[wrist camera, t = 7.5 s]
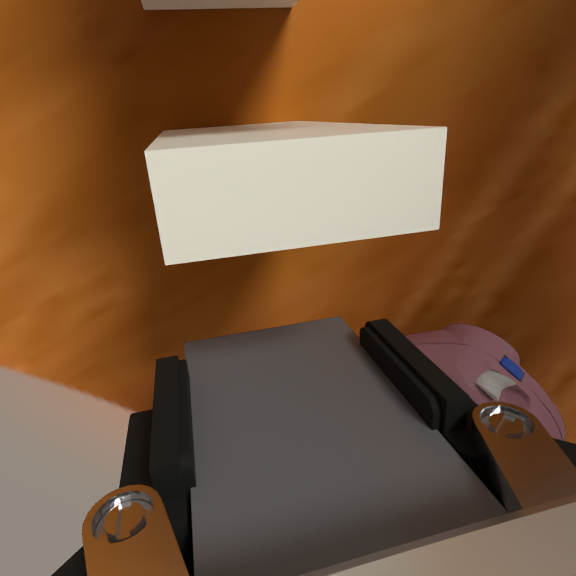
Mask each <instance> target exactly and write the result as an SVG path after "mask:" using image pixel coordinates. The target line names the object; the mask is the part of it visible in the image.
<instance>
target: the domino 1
mask: <svg viewBox="0 0 576 576" xmlns="http://www.w3.org/2000/svg"><path fill="white" fill-rule="evenodd" d="M446 137H447V127H439V126H413V125H387V124H362V123H336V122H311V121H291V122H277V123H263V124H249V125H235V126H221V127H207V128H193V129H179V130H165V131H163V132H162V133H161V134H160V135H159V136H158V137H157V138H156V139H155V140H154V141H153V142H152V143H151V144H150V145H149V146H148V148H147V149H146V150H145V151H144V153H145V158H146V164H147V169H148V175H149V180H150V186H151V191H152V196H153V202H154V207H155V213H156V218H157V224H158V229H159V235H160V240H161V246H162V251H163V256H164V262H165V265H173V264H180V263H188V262H195V261H203V260H211V259H218V258H226V257H233V256H241V255H249V254H256V253H264V252H271V251H279V250H286V249H294V248H302V247H309V246H317V245H324V244H332V243H340V242H347V241H355V240H362V239H370V238H378V237H385V236H393V235H400V234H408V233H416V232H423V231H431V230H438V229H439V225H440V212H441V200H442V187H443V175H444V162H445V150H446Z"/></svg>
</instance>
